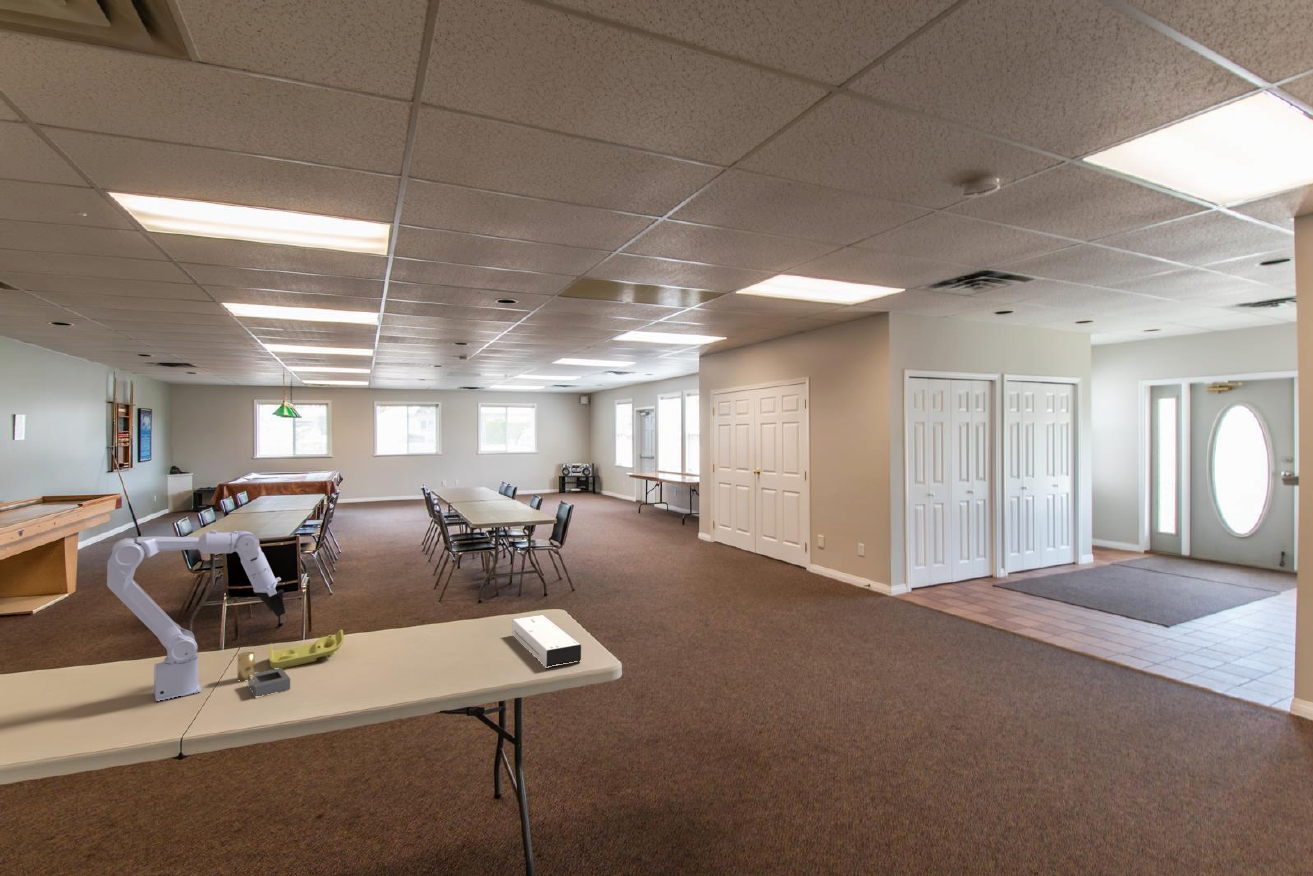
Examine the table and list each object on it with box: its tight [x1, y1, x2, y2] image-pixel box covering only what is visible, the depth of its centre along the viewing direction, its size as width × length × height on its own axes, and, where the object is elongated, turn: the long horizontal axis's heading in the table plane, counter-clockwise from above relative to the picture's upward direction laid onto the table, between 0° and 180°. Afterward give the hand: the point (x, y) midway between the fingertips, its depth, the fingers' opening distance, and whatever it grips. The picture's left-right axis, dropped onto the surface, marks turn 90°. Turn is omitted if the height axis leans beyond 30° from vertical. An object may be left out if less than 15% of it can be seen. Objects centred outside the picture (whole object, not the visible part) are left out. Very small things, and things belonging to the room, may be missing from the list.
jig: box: [247, 668, 291, 697], centre depth 169 cm, size 8×10×3 cm
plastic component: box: [268, 629, 345, 669], centre depth 190 cm, size 20×7×10 cm
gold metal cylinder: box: [236, 651, 256, 682], centre depth 175 cm, size 4×4×7 cm
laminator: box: [511, 614, 582, 667], centre depth 203 cm, size 34×12×6 cm, turn 31°
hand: (278, 611), depth 180 cm, fingers open, 7 cm apart
